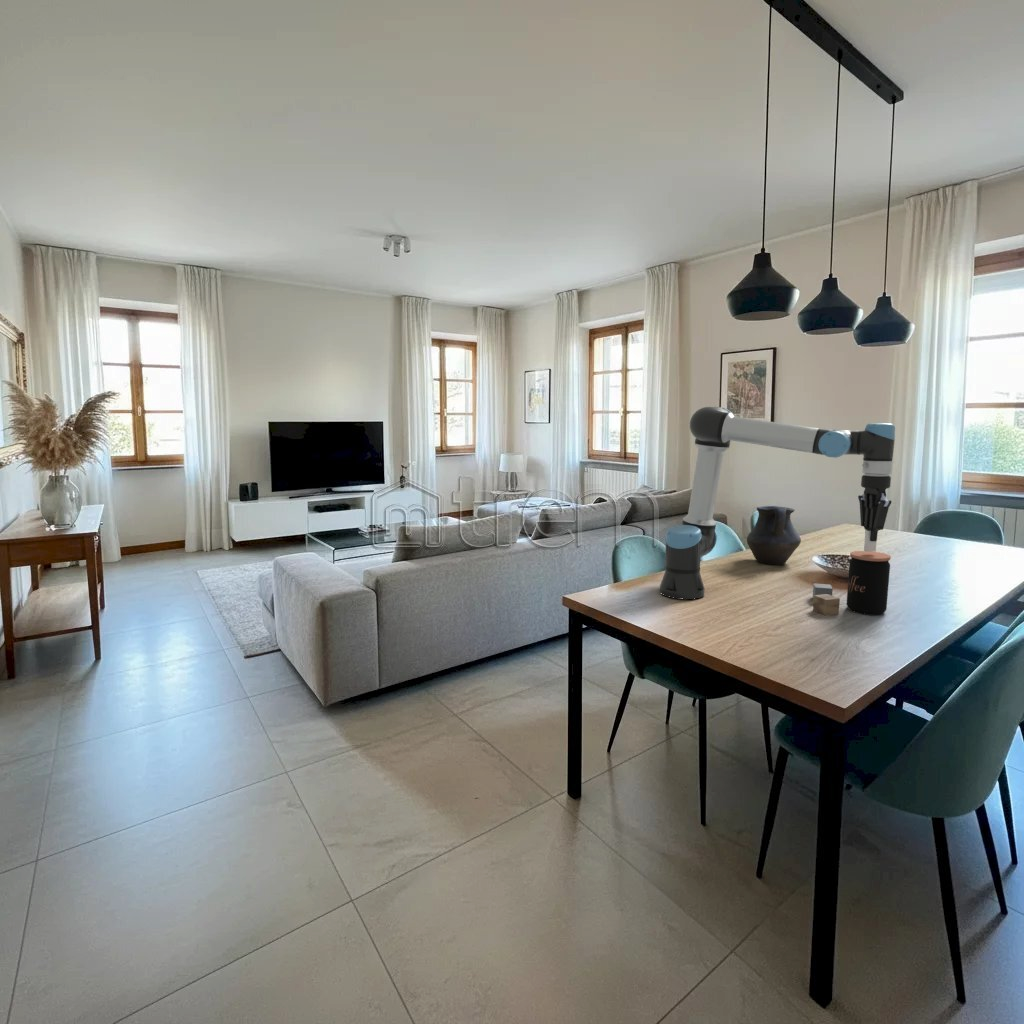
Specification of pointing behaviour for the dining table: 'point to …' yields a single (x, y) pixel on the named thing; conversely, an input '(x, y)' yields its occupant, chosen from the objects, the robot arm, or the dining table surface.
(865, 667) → the dining table surface
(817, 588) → the grey cube
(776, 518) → the pitcher
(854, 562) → the coffee jar
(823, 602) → the walnut block
